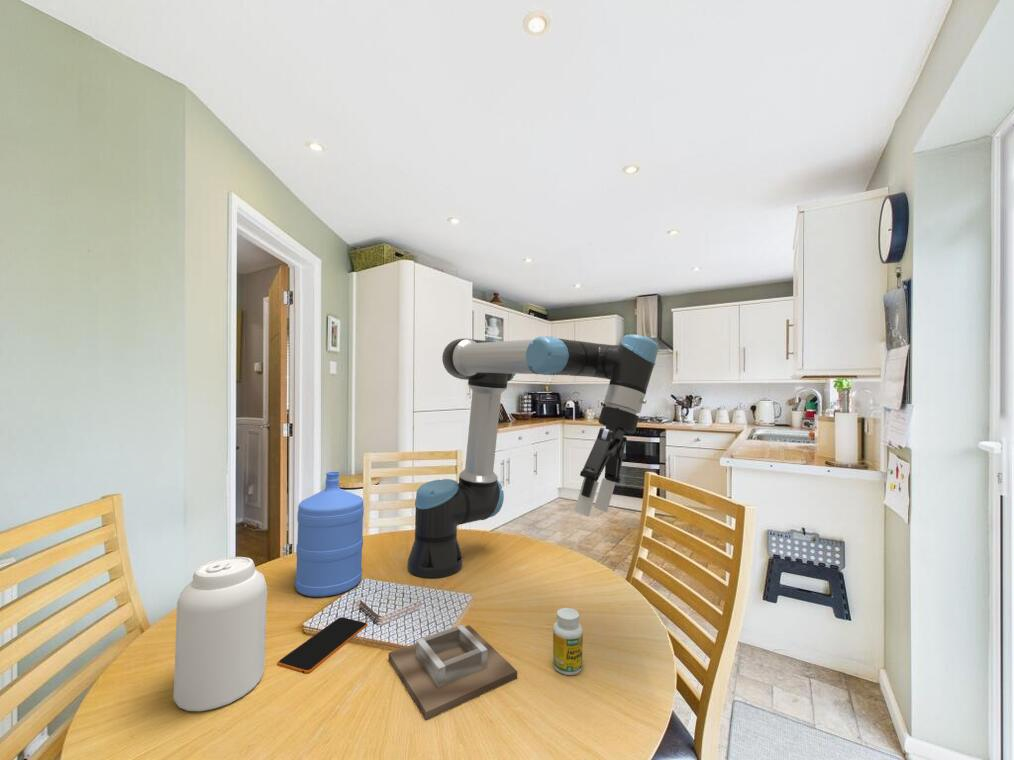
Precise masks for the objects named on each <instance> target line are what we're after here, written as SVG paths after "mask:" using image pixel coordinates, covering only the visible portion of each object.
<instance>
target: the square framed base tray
mask: <svg viewBox="0 0 1014 760" xmlns="http://www.w3.org/2000/svg"><path fill="white" fill-rule="evenodd" d="M387 657H388V658H387V659H388V661H389V662H390V664H391V666H392V667H393V669H394V670H395V673H396V674H397V675H398V677H399V679H400V680H401V682H402V683H403V685H404V687H405V688H406V690H407V692H408V693H409V695H410V696H411V698H412V700H413V701H414V703H415V704H416V706H417V708H418V709H419V711H420V713H421V714H422V716H423V718H424V719H425V721H427V720H429V719H431V718H434V717H435V716H436V717H437V716H438V715H441V714H442V713H445V712H446V711H449V710H451V709H453V708H455V707H457V706H459V705H462V704H464V703H466V702H468V701H471V700H472V699H474V698H476V697H478V696H482V695H483V694H486V693H488V692H490V691H492V690H494V689H497V688H498V687H500V686H503V685H505V684H507V683H509V682H511V681H513V680H515V679H518V670H517V669H516V668H515V667H514V666H513V665H512V664H511V663H510V662H508V661H507V659H506V658H505V657H503V656H502V655H501V654H500V653H499V652H498V651H497V650H496V648H494V647H493V646H492V645H491V644H490V643H489V642H488V641H487V640H486V639H484V638H483V636H481V635H480V634H479V633H478V632H477V631H476V630H475V629H474V628H473V627H472V626H471V625H470V624H468V625H463V624H459V625H456V626H453V627H450V628H447V629H444V630H441V631H439V632H436V633H433V634H429V635H427V636H424V637H421V638H418V639H416V643H415V642H414V643H413V644H410V645H407V646H403V647H401V648H398V649H395V650H393V651H392V650H391V651H390V652H388V656H387Z"/></svg>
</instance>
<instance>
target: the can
mask: <svg viewBox="0 0 1014 760" xmlns="http://www.w3.org/2000/svg"><path fill="white" fill-rule="evenodd" d="M267 593H268V586H267V583H266V579H265V575H264V573H262V572H260V571H259V570H257V569H256V565H255V562H254V560H253V559H252V558H250V557H244V556H228V557H223V558H219V559H215V560H212V561H209V562H206V563H204V564H202V565H200V566H199V567H197V568H196V569H195V571H194V573H193V575H192V580H191V581H190V583H188V584H187V585H186V586H185V587H184V588H183V589H182V590H181V592H180V593H179V597H178V599H177V603H176V620H175V621H176V622H175V624H176V627H175V648H174V649H175V651H174V674H173V675H174V676H173V677H174V678H173V701H174V703H175V704H176V705H177V707H178V708H179V709H182V710H185V711H187V712H205V711H209V710H214V709H218V708H220V707H224V706H226V705H229V704H231V703H233V702H235V701H237V700H238V699H241V698H243V697H244V696H245V695H247V694H248V693H249V692H250V691H252V690H253V689H254V688H255V687H256V686H257V685H258V683H259V682H260V681H261V679H262V677H263V674H264V672H265V663H266V661H265V658H266V656H265V655H266V634H267V632H266V631H267V629H266V627H267V601H268V600H267V598H268V597H267V596H268V595H267Z"/></svg>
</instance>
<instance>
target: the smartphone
mask: <svg viewBox="0 0 1014 760" xmlns="http://www.w3.org/2000/svg"><path fill="white" fill-rule="evenodd" d="M368 626H369V625H368V623H367V622H365V621H360V620H355V619H352V618H347V617H345V616H341V617H338V618H336V619H334V621H332V622H331V623H329V624H328V625H327V626H325V627H324V628H323V629H321V630H320V631H318V632H317V633H315V634H314V635H313V636H311V637H310V638H309V639H307V640H306V641H304V642H302V643H301V644H300V645H299V646H297V647H296V648H294V649H293V650H292V651H291V652H289V653H288V654H286V655H285V656H283V657H281V658H280V659H279V660H278V661H277V663H276V664H277V666H278V667H282V668H285V669H287V670H288V669H289V670H292V671H295V672H299V673H303V672H304V673H303V674H304V675H305V674H306V675H308V674H310V673H312V672H314V671H315V670H316V669H317V668H318V667H320V665H322V664H323V663H325V661H327V660H328V659H329V658H330V657H332V656H333V655H335V653H336V652H337V651H339V650H340V649H341V648H342V647H343V646H345V645H346V644H348V643H349V642H350V641H351V640H352V639H353V638H355V637H356V636H357V635H358V634H360V633H361V632H362V631H363V630H364V629H366V628H367V627H368Z"/></svg>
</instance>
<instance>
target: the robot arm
mask: <svg viewBox="0 0 1014 760" xmlns="http://www.w3.org/2000/svg"><path fill="white" fill-rule="evenodd" d="M658 351H659V346H658V343H657V342H656V341H655V340H654V339H652V338H649V337H647V336H644V335H640V334H635V333H634V334H626V335H624V336H623V337H622V339H621V342H620V344H606V343H597V342H596V343H595V342H588V341H582V340H581V341H580V340H574V339H573V340H572V339H567V338H566V339H565V338H558V337H556V336H537V337H535V338H534V339H521V340H520V339H519V340H505V341H503V340H502V341H491V340H483V339H482V340H481V339H473V338H458V339H457V338H456V339H454V340H452V341H451V342H449V343H448V344H447V345H446V346H445V347H444V350H443V351H442V357H441V359H442V360H441V361H442V364H443V368H444V370H446V372H447V373H448V374H449V375H450V376H452V377H453V378H456V379H459V380H463V381H464V380H465V381H466V380H468V382H467V385H468V387H469V388H470V390H471V391H472V392H471V402H470V403H471V404H470V414H469V422H468V423H469V424H468V425H469V426H468V435H467V444H466V445H467V446H466V455H465V456H466V457H465V463H464V465H465V467H464V469H463V470H462V471H461V472H460V473H459V476H458V481H456V480H454V479H448V478H443V479H435V480H431V481H427V482H425V483H423V484H422V485H420V486H419V487H418V489H417V490H416V493H415V494H416V495H415V503H414V505H415V506H414V507H415V510H414V511H415V514H414V516H415V518H414V520H415V522H414V524H415V525H414V542H413V544H412V548H411V549H410V553H409V556H408V560H407V571H408V572H409V573H410V574H411V575H414V576H416V577H419V578H427V579H436V578H437V579H438V578H443V577H448V576H452V575H454V574H456V573H458V572H459V571H461V569H462V568H463V556H462V555H463V554H462V551H461V548H460V545H459V542H458V539H457V536H458V534H457V533H458V532H457V530H458V526H461V525H464V524H468V523H469V524H470V523H472V522H477V521H485V520H487V519H489V518H492V517H495V516H496V515H497V514H499V512H500V511H501V509H502V507H503V504H504V496H505V494H504V490H502V489H503V486H502V483H501V482H500V481H499V480H498V475H497V474H496V473H495V471H494V470H495V468H494V466H495V459H496V458H495V457H496V447H497V439H498V430H499V429H498V427H499V418H500V409H501V398H502V394H503V392H505V391H506V390H507V389H508V382H510V381H512V380H513V379H514V376H516V374H517V375H518V374H519V375H521V374H522V375H523V374H524V375H542V376H571V377H572V376H573V377H584V378H585V377H587V378H588V377H589V378H597V379H606V380H609V383H608V386H607V390H606V394H605V396H604V398H603V399H604V400H603V404H604V406H603V407H601V411H600V415H599V418H598V423H599V424H600V425H601V426H604V428H603V427H600V428H599V431H598V433H597V438H596V439H595V441H594V443H593V447H592V449H591V451H590V453H589V455H588V457H587V460H586V461H585V463H584V466H583V468H582V470H580V474H579V476H580V477H583V481H582V485H581V487H580V492H579V494H578V497H577V501H576V504H575V506H574V507H575V508H574V513H578V514H580V515H583V516H585V517H587V518H588V517H590V515H591V511H592V509H593V504H594V509H596V510H599V511H601V512H604V513H607V512H608V511H609V507H610V503H611V499H612V496H613V493H614V489H615V485H616V483H617V484H620V482H621V478H620V477H621V470H622V464H623V459H624V453H625V447H626V442H627V441H628V438H627V437H626V436H624V434H625V433H628V434H635V433H636V430H637V426H638V423H639V420H640V418H639V416H638V415H637V414H640V413H642V408H643V404H644V405H645V404H647V399H646V398H645V397H646V394H647V390H648V386H649V383H650V380H651V377H652V373H653V371H654V370H653V369H654V367H655V366H656V359H657V355H658ZM603 471H604V478H602V479H601V483H600V482H599V479H600V476H601V474H602V473H603ZM599 483H600V486H599ZM598 487H599V489H598ZM597 490H598V493H597ZM596 495H597V497H596ZM595 497H596V500H595ZM594 501H595V503H594Z"/></svg>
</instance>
